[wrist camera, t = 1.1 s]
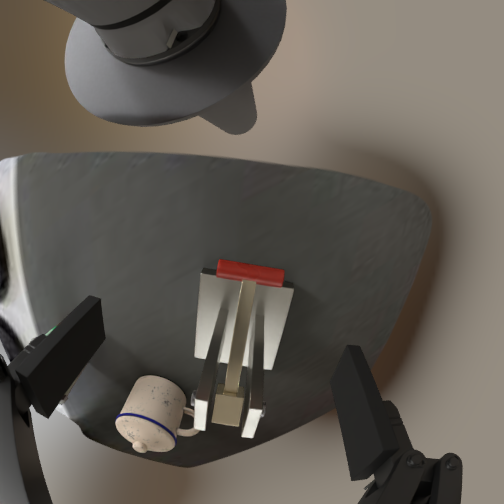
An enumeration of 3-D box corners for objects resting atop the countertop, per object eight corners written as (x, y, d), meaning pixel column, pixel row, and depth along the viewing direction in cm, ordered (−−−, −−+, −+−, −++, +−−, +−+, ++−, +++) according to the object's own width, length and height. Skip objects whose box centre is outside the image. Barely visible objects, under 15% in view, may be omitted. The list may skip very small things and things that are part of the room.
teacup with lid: (140, 403, 40) (118, 455, 29) (129, 367, 37) (99, 423, 26) (207, 416, 39) (196, 474, 28) (205, 381, 36) (189, 446, 25)
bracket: (203, 267, 30) (159, 354, 16) (293, 282, 30) (311, 379, 16) (196, 350, 34) (167, 441, 20) (271, 362, 34) (272, 458, 20)
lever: (220, 259, 22) (218, 257, 20) (282, 270, 22) (286, 269, 20) (198, 406, 21) (194, 419, 19) (254, 415, 21) (256, 428, 19)
